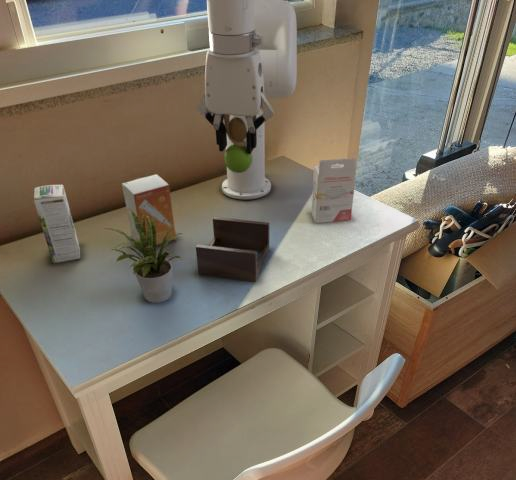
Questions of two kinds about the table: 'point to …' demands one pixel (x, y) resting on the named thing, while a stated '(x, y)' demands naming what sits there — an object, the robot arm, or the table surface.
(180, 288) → the table surface
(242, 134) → the snail figurine
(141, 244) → the house plant
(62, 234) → the syrup box
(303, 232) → the table surface
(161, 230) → the small box
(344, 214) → the ink cartridge box
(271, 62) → the robot arm
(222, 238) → the frame
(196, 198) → the table surface
